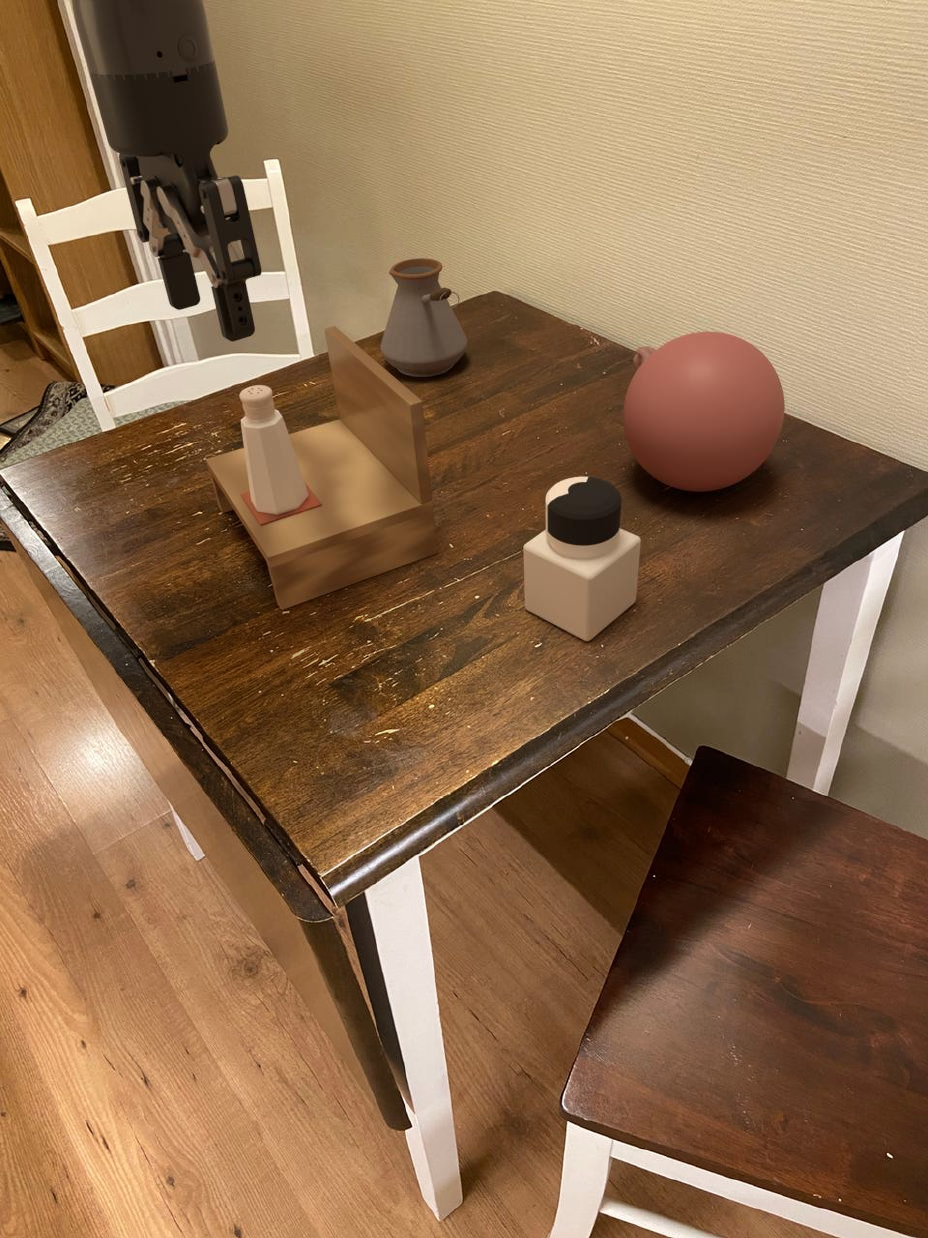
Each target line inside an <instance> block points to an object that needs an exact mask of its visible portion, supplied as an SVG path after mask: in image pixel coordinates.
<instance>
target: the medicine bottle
mask: <svg viewBox="0 0 928 1238" xmlns="http://www.w3.org/2000/svg"><path fill="white" fill-rule="evenodd" d="M621 513H622V495H621V492H620V491H619V489H617V488H616V487H615V486H614V485H613V484H612V483H611V482H609V481H607V480H605V479H603V478H602V479H601V478H597V477H592V476H573V477H568V478H566V479H562V480H560V481H558V482H556V483H555V484H553V486H551V488H549V489H548V491H547V493H546V495H545V529H544V530H543V531H541V532H540V533H539V534H537V535H536V536H534V537H533V538H531V539H530V540H529V541H528V542H526V543H525V544H524V545H523V585H524V586H523V589H524V592H523V593H524V609H525V610H526V611H528V612H530V613H532V614H534V615H536V616H538V617H539V618H541V619H543V620H545V621H546V622H549V623H550V624H553V625H555V626H556V627H558V628H560V629H562V630H564V631H566V632H567V633H569V634H571V635H573V636H575V637H576V638H579V639H581V640H582V641H584V642H590V641H591V640H592V639H593V638H595V637H596V636H597V635H599V634H600V633H601V632H602V631H603V630H604V629H606V628H607V627H608V626H609V625H610V624H611V623H612V622H614V621H615V620H616V619H617V618H619V616H621V615H622V614H624V612H625V611H627V610H628V609H629V608H630V607H631V606H632V605H634V604H635V603H636V601H637V594H638V593H637V592H638V581H639V580H638V579H639V568H640V556H641V543H642V542H641V541H642V540H641V537H640V536H638V535H636V534H634V533H632V532H629V531H627V530H626V529H625V530H624V529H622V528H620V527H621Z"/></svg>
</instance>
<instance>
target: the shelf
mask: <svg viewBox="0 0 928 1238" xmlns="http://www.w3.org/2000/svg"><path fill="white" fill-rule="evenodd" d="M324 337H325V341H326V347H327V353H328V354H327V355H328V359H329V367H330V372H331V378H332V382H333V389H334V395H335V400H336V401H335V402H336V408H337V413H338V418H339V419H336V420H333V421H332V420H331V421H328V422H326V423H322V424H319V425H316V426H312V427H308V428H306V429H302V430H299V431H296V432H291V433H288V434H289V437H290V440H291V443H292V446H293V449H294V452H295V455H296V458H297V461H298V464H299V467H300V470H301V473H302V476H303V479H304V482H305V485H306V488H307V491H308V494H309V496H308V498H307V499H306V500H305V501H304V502H303V504H302V505H301V506H300V507H299V508H298V509H295V510H292V511H289V512H285V513H282V514H279V515H275V514H269V513H263V512H258V511H257V510H256V508H255V506H254V504H253V503H252V501H251V495H250V488H249V480H248V473H247V466H246V458H245V451H244V447H242V448H239V449H236V450H232V451H229V452H226V453H222V454H219V455H215V456H212V457H208V458H206V459H205V464H206V468H207V471H208V474H209V478H210V480H211V484H212V488H213V491H214V494H215V498H216V502H217V505H218V508H219V510H220V511H221V513H222V514H225V513H228V512H231V511H234V513H235V514H236V516H237V517H238V518H239V521H240V522H241V524H242V525H243V527H244V528H245V530H246V532H247V533H248V534H249V537H250V538H251V539H252V541H253V542H254V544H255V545H256V547H257V549H258V550H259V552H260V553H261V555H262V557H263V558H264V560H265V561H266V566H267V568H268V573H269V577H270V580H271V585H272V588H273V592H274V596H275V600H276V604H277V605H278V607H279V608H280V610H281V611H284V610H286V609H288V608H291V607H294V606H296V605H299V604H302V603H305V602H308V601H311V600H314V599H316V598H319V597H321V596H324V595H327V594H331V593H333V592H335V591H337V590H338V591H339V590H341V589H344V588H346V587H349V586H351V585H355V584H357V583H361V582H362V581H366V580H368V579H371V578H373V577H376V576H379V575H381V574H382V575H383V574H384V573H387V572H389V571H393V570H396V569H397V568H401V567H403V566H407V565H409V564H412V563H414V562H417V561H420V560H422V559H425V558H428V557H431V556H433V555H437V554H438V553H439V552H438V541H437V533H436V532H437V531H436V522H435V513H434V501H433V495H432V494H433V492H432V483H431V474H430V463H429V454H428V443H427V432H426V422H425V415H424V413H425V412H424V404H423V400H422V399H421V398H420V397H418V396H417V395H416V394H415V393H413V392H412V391H411V390H410V389H409V388H408V387H406V386H405V385H404V384H403V383H402V382H400V380H398V378H396V377H395V376H394V375H392V374H391V373H390V372H389V371H388V370H387V369H385V367H383V366H382V365H381V364H380V363H379V362H377V360H375V359H374V358H372V356H370V355H369V354H368V353H367V352H366V351H365V350H363V348H361V347H360V346H359V345H358V344H356V343H355V342H354V341H353V340H352V339H351V338H349V336H347V335H346V333H344V332H342V330H340V329H339V328H338V327H337V326H335V325H333V326H330V327H326V328H325V327H324Z"/></svg>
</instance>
